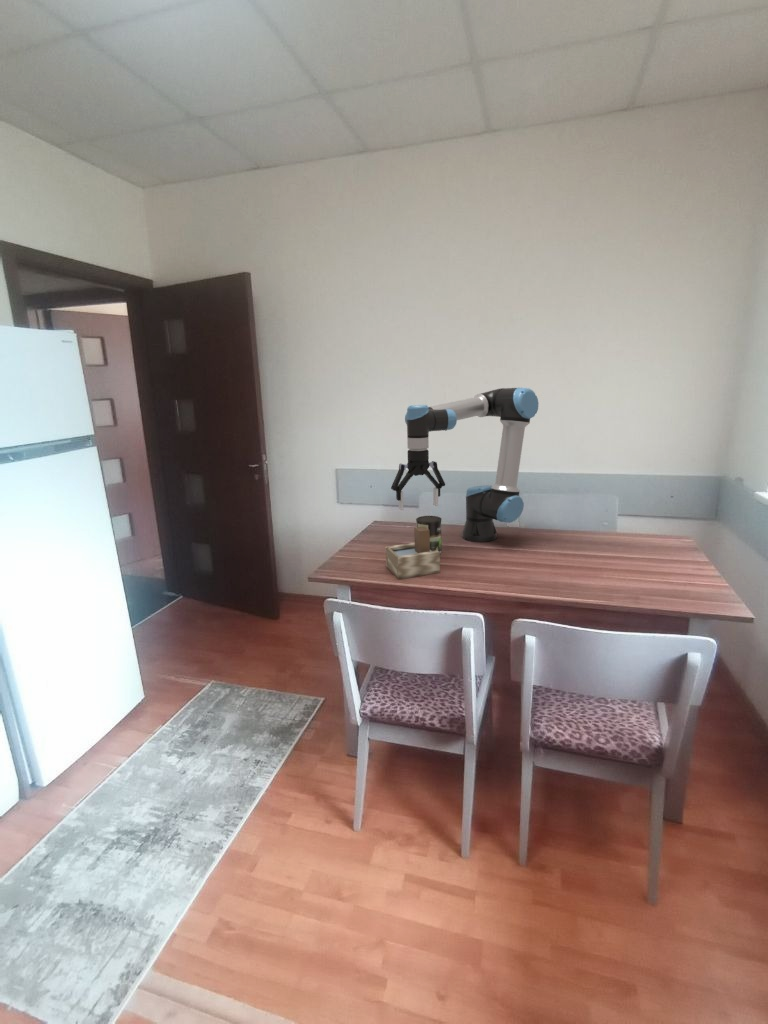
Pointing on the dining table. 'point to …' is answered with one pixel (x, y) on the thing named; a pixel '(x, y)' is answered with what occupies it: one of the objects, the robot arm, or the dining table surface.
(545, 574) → the dining table surface
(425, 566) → the box
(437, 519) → the coffee can
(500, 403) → the robot arm
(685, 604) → the dining table surface
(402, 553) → the lid
